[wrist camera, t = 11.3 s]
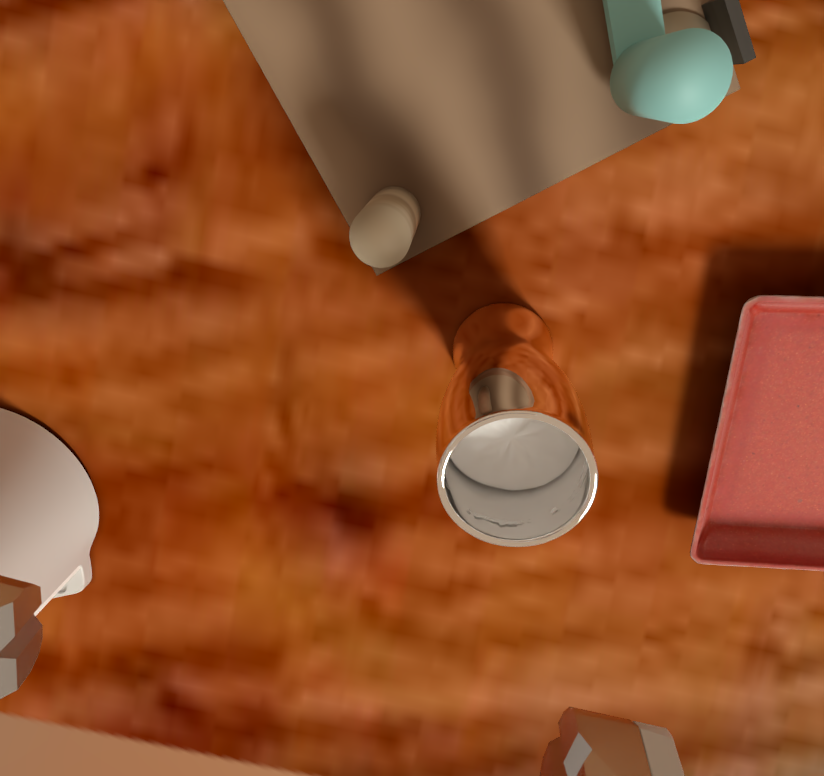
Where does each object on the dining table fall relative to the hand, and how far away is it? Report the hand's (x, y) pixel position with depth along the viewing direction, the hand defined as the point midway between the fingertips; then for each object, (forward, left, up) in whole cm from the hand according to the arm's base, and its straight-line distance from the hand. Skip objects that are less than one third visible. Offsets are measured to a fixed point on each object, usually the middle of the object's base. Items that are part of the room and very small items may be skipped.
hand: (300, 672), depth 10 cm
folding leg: (+14, +7, -28) cm, 32 cm away
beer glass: (+1, -8, -31) cm, 32 cm away
